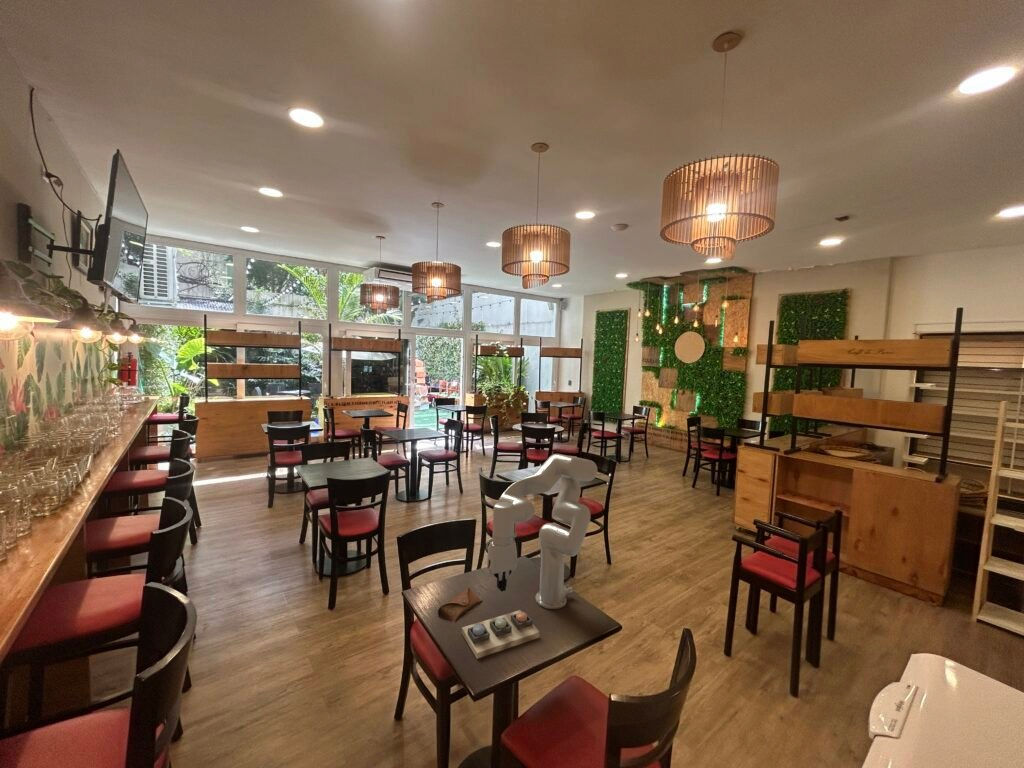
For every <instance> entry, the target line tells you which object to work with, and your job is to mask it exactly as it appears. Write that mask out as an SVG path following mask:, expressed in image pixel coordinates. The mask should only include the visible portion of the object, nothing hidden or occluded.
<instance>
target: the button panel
mask: <svg viewBox="0 0 1024 768" xmlns="http://www.w3.org/2000/svg"><path fill="white" fill-rule="evenodd" d="M519 612H524V613H526V614H527V612H526V611H525V610H524V611H522V610H521V609H519V610H515V611H512V612H508V613H505V614H502V615H499V616H495V617H492V618H489V619H485V620H483V621H478V622H475V623H472V624H469V625H466V626H462V627H461V635H462V636H463V638H464V640H465V641H466V643H467V644H468V646H469V648H470V650H471V651H472V653H473V654H474V657H475V658H476V659H481V658H484V657H486V656H490V655H493V654H495V653H498V652H501V651H504V650H507V649H510V648H513V647H515V646H518V645H521V644H524V643H526V642H530V641H533V640H537V639H539V638H540V636H541V635H540V631H539V629H538V628H537V627H536V626H535V625H534V624H533V619H532V618H531V617H530V615H528V614H527V621H525V622H522V623H518V621H517V620H516V614H517V613H519ZM499 618H502V619H505V620H506V628H503V629H500V630H497V628H496V627H495V621H496V620H497V619H499ZM476 625H482V626H484V628H485V629H484V635H481V636H477V637H475V636H474V635H473V627H474V626H476Z"/></svg>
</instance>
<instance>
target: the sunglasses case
mask: <svg viewBox="0 0 1024 768" xmlns="http://www.w3.org/2000/svg"><path fill="white" fill-rule="evenodd" d="M482 602H483V599H481V598H480V597H479V596H478V595H476V594H475V593H474V592H473V591H472V589H471V588H470V587H468V588H467V589H465V590H464V591H462V592H460V593H458V595H456V596H455V597H453V598H452V599H450V600H449V601H447V602H446V603H444V604H443V605H441V606H440V607H439V608H438V609H437V610H438V611H437V614H438V616H440V617H442V618H444V619H446V620H448V621H451V622H453V623H456V622H457V620H458V619H460V618H461V617H462V616H464V614H466V613H467V612H468V611H470V610H471V609H472V608H474V607H475V606H477V605H479V604H481V603H482Z"/></svg>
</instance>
